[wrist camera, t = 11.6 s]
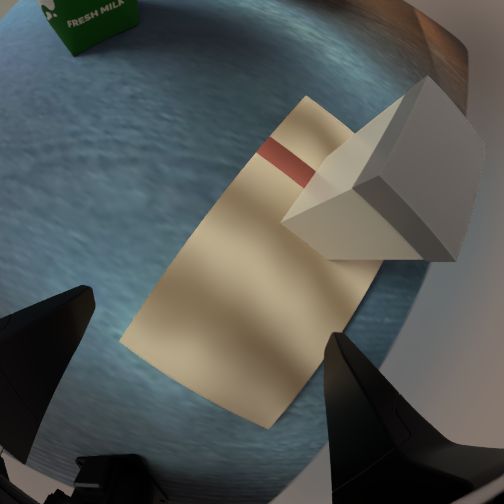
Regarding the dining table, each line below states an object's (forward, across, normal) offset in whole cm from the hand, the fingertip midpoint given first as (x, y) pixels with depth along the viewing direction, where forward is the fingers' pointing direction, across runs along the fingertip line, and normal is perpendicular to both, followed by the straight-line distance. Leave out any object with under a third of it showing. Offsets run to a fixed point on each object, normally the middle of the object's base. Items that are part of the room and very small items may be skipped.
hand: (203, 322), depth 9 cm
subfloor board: (+10, -4, +2) cm, 11 cm away
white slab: (+11, -6, -2) cm, 13 cm away
